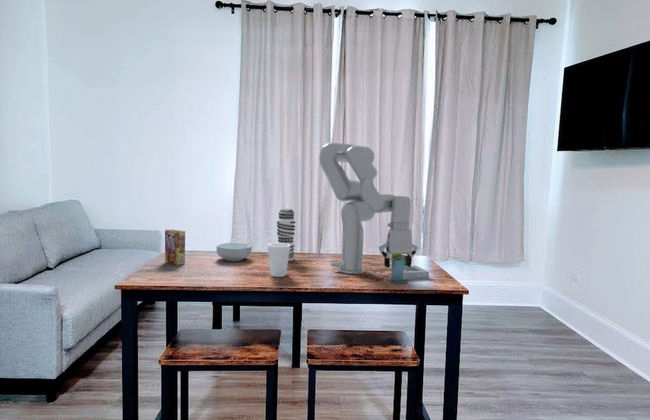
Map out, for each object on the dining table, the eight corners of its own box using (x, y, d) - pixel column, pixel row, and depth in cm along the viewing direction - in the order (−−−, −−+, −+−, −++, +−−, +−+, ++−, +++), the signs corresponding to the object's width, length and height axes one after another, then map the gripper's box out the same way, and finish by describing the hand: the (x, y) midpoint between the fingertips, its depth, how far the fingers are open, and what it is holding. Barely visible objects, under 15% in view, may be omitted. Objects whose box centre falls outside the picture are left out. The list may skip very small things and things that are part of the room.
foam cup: (264, 272, 189) (265, 243, 188) (285, 271, 193) (285, 242, 191) (270, 278, 180) (271, 247, 179) (292, 276, 184) (293, 246, 183)
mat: (392, 284, 178) (392, 283, 178) (385, 279, 185) (385, 278, 185) (408, 283, 180) (408, 282, 180) (400, 278, 187) (400, 277, 187)
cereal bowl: (257, 261, 211) (258, 246, 210) (226, 265, 201) (226, 250, 200) (241, 254, 224) (241, 241, 224) (210, 258, 214) (210, 244, 213)
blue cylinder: (394, 282, 180) (395, 259, 179) (389, 279, 184) (390, 256, 183) (405, 281, 181) (406, 259, 180) (399, 278, 186) (401, 256, 185)
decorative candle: (290, 256, 224) (291, 208, 221) (297, 260, 215) (298, 210, 213) (273, 257, 220) (274, 208, 217) (279, 261, 212) (281, 210, 209)
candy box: (185, 263, 201) (185, 230, 199) (178, 265, 197) (178, 231, 196) (171, 261, 205) (171, 228, 203) (164, 262, 201) (164, 229, 199)
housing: (403, 279, 186) (403, 272, 185) (391, 272, 197) (391, 266, 197) (428, 278, 189) (428, 271, 189) (415, 271, 201) (415, 265, 200)
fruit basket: (406, 271, 201) (407, 247, 200) (387, 269, 204) (388, 245, 203) (409, 266, 212) (410, 243, 211) (391, 264, 215) (392, 241, 214)
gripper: (384, 227, 174) (382, 269, 176) (423, 227, 179) (420, 268, 181) (376, 224, 181) (375, 265, 183) (414, 224, 186) (412, 264, 188)
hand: (397, 266), depth 182 cm, fingers open, 9 cm apart
